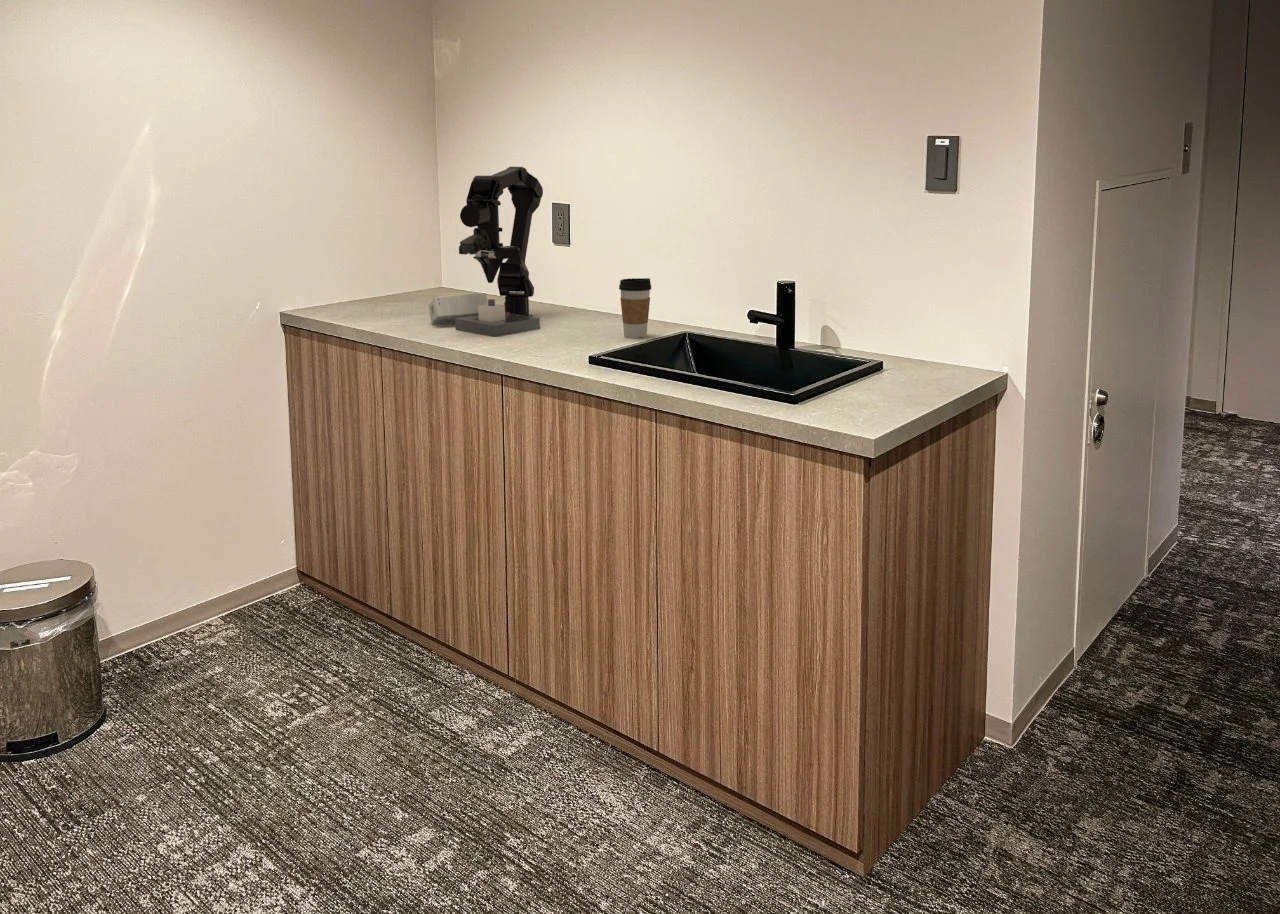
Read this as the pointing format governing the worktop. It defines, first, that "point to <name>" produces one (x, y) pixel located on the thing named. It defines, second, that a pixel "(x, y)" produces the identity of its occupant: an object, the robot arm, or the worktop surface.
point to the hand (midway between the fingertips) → (490, 282)
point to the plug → (491, 311)
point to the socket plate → (498, 325)
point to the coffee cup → (635, 306)
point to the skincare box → (455, 307)
